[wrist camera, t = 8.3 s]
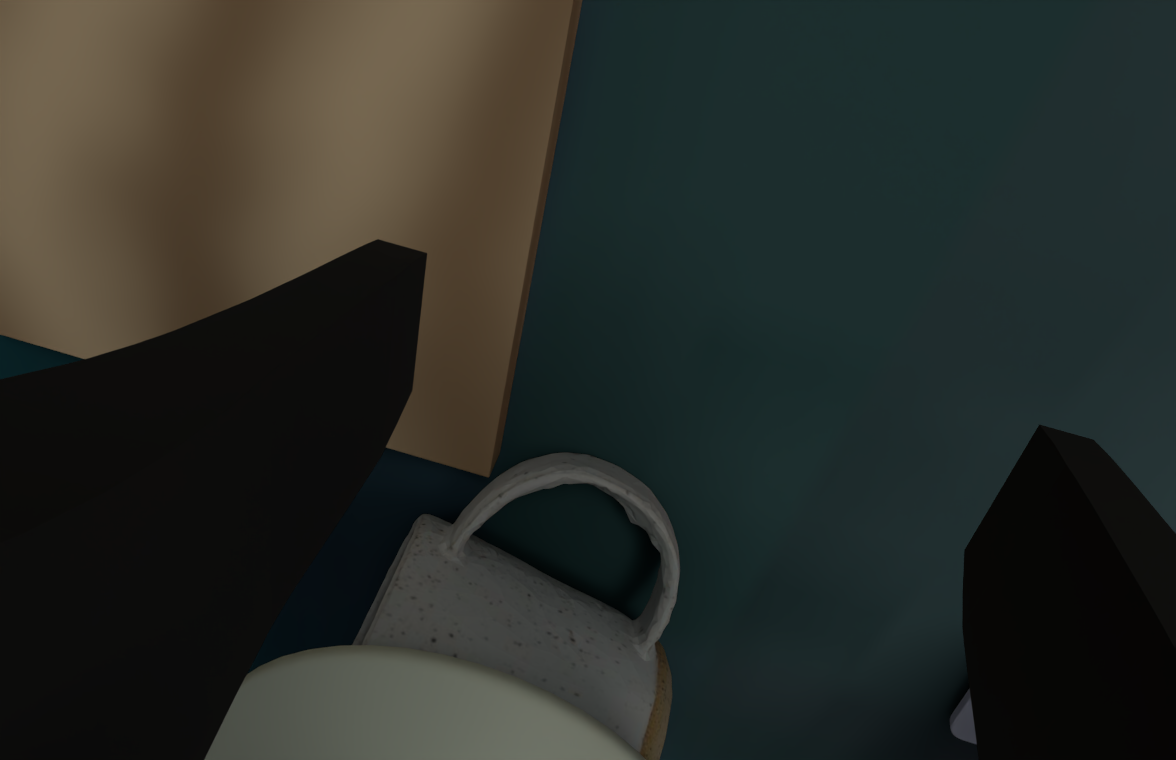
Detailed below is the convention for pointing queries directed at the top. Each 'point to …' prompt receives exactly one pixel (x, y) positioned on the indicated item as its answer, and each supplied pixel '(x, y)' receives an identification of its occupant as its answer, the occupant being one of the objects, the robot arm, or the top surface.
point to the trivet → (282, 173)
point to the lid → (403, 712)
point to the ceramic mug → (537, 605)
